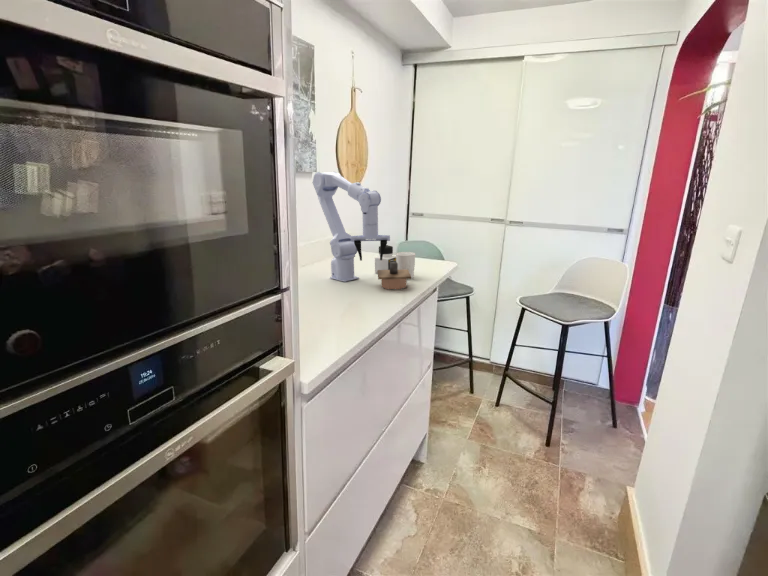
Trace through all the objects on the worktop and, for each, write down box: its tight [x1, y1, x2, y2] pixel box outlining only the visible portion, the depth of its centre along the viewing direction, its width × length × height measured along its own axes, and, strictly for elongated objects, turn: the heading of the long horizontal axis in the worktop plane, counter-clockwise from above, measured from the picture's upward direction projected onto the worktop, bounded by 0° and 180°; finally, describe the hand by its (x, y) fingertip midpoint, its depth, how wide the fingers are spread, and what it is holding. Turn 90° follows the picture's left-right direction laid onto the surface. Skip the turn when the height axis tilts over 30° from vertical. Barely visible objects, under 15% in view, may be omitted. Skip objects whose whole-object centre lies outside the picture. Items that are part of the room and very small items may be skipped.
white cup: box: [395, 251, 416, 280], centre depth 175 cm, size 8×8×10 cm
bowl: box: [380, 279, 407, 290], centre depth 162 cm, size 9×9×4 cm
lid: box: [377, 262, 411, 280], centre depth 161 cm, size 12×12×5 cm
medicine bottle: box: [374, 244, 396, 274], centre depth 184 cm, size 7×7×12 cm
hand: (371, 259), depth 163 cm, fingers open, 7 cm apart
